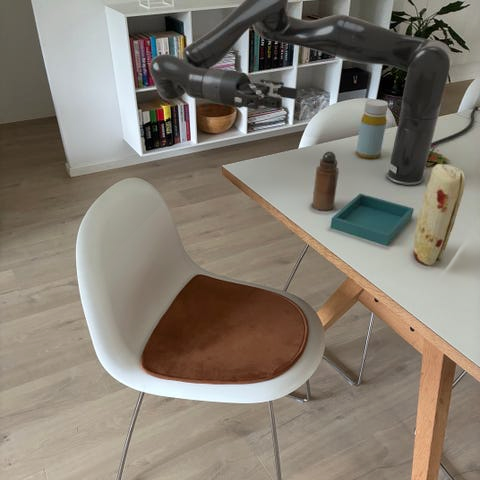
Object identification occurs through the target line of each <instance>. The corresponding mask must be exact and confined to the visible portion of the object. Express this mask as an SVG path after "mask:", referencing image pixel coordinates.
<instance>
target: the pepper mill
mask: <svg viewBox="0 0 480 480" xmlns="http://www.w3.org/2000/svg"><path fill="white" fill-rule="evenodd" d="M336 158H337V156H336V154H335V153H334V151H331V150H329V151H326V152H324V154H323V155H322V158H320V160H319V165H318V166H316V169H315V177H314V187H313V196H312V202H311V209H313V210H315V211H317V212H321V213H323V212H325V213H326V212H331V211H333V210H334V209H335V201H336V194H337V187H338V186H337V185H338V179H339V173H340V169H339V167H338V160H337V159H336Z"/></svg>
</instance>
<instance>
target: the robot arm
mask: <svg viewBox="0 0 480 480" xmlns="http://www.w3.org/2000/svg"><path fill="white" fill-rule="evenodd" d="M251 27H252V28H253V31H254V33H255V34H256V35H257V36H258V37H260V38H262V39H265V40H267V41H272V42H277V43H281V44H282V43H283V44H287V45H292V46H297V47H302V48H306V49H309V50H313V51H316V52H320V53H323V54H327V55H329V56H332V57H335V58H338V59H342V60H344V61H348V62H352V63H355V64H356V63H357V64H365V65H381V66H389V67H393V68H396V69H399V70H402V71H405V72H407V74H406V78H405V82H404V87H403V94H402V100H401V108H400V113H399V119H398V123H397V129H396V133H395V137H394V143H393V147H392V153H391V157H390V161H389V162H388V166H387V169H388V172H387V173H386V174H387V175H386V178H387V179H388V180H389V181H390V182H392V183H394V184H396V185H397V184H398V185H401V186H417V185H420V184H422V182H423V180H424V174H425V170H426V168H427V167H426V166H427V165H426V163H427V159H428V155H429V151H431V148H432V147H435V146H437V145H439V144H441V143H443V142H447V141H448V140H451V139H454V138H456V137H458V136H461V135H462V134H464V133H466V132H467V131H468V130H469V129H470V128H471V127H472V126H473V124H474V121H475V113H476V111H479V106H477V105H476V106H474V107H473V109H472V111H471V113H470V122H469V124H468V125H467V126H466V127H465V128H463V129H462V130H460V131H458V132H456V133H453V134H451V135H448V136H446V137H443V138H441V139H438V140H435V141H433V138H434V135H435V130H436V126H437V122H438V118H439V115H440V111H441V108H442V101H443V98H444V94H445V90H446V86H447V82H448V79H449V74H450V71H451V68H452V65H453V53H452V51H451V48H450V47H449V46H448V45H447V44H446V43H445V42H442V41H440V40H435V39H429V38H422V37H417V36H412V35H407V34H402V33H400V32H396V31H394V30H391V29H389V28H386V27H384V26H380V25H378V24H375V23H372V22H369V21H367V20H363V19H360V18H358V17H353V16H351V15H350V16H349V15H347V14H333V15H329V16H326V17H322V18H319V19H315V20H306V19H300V18H297V17H294V16H291V15H289V0H244V1H243V2H241V4H239V5H238V6H237V7H236V8H235V9H234V10H233V11H232V12H231V13H230V14H229V15H227V16H226V17H225V18H223V20H222V21H221V22H220V23H218V25H216V26H215V27H213V28H212V29H211V30H210V31H208V32H207V33H206V34H203V35H202V36H200V37H199V38H197V39H196V40H194V41H193V42H192V43H190V44H188V45H187V46H186V47H184V48H183V50H182V53H181V55H182V56H181V57H182V58H181V57H179V56H177V55H173V54H170V53H169V54H168V53H162V54H159V55H157V56H154V58H152V59H151V61H150V62H149V66H148V67H149V69H148V70H149V73H150V77H151V78H152V81H153V83H154V86H155V88H156V91H157V93H158V95H159V97H160V98H161V99H162V100H165V101H175V100H178V99H179V98H181V97H182V96H184V95H185V94H186V95H187V96H188V97H190V98H192V99H195V100H201V101H207V102H210V103H212V104H217V105H222V106H227V107H233V108H238V109H241V108H247V109H252V110H258V109H259V108H261V109H262V108H263V109H264V108H271V109H276V110H280V109H282V106H283V98H286V99H290V100H296V99H297V98H298V91H299V90H298V88H296V87H289V86H285V82H282V81H274V80H268V79H263V78H262V79H260V80H259V81H253V82H251V79H250V76H249V75H248V74H247V73H245V72H241V71H235V70H230V69H229V70H228V69H224V68H223V69H222V68H213V67H215V66H216V65H217V64H219V63H220V62H222V61H223V60H224V59H225V58H226V57H227V56H228V54H229V53H230V52H231V51H232V49H233V48H234V47H235V45H236V44H237V43H238V41H239V40H240V39H241V38H242V36H243V35H244V34H245V33H246V32H247V31H248V30H249V29H251ZM431 146H432V147H431Z"/></svg>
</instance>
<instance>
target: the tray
mask: <svg viewBox="0 0 480 480" xmlns="http://www.w3.org/2000/svg"><path fill="white" fill-rule="evenodd" d="M414 210H415V208H413V207H409V206H406V205H403V204H400V203H395V202H391V201H388V200H384V199H381V198H378V197H374V196H371V195H367V194H364V193H359V194H358V195H356V196H355V197H354V198H353V199H352V200H350V201H349V202H348V203H347V204H346V205H345V206H344V207H343V208H341V209H339V211H338V212H336V214H335V215H333V216H332V217H331V221H330V229H332V230H335V231H339V232H341V233H344V234H347V235H351V236H353V237H357V238H360V239H363V240H367V241H370V242H373V243H376V244H379V245H382V246H385V247H388V246H389V244H390V243H391V242H392V241H393V240H394V239H395V238H396V237H397V236H398V234H399V233H400V232H401V231H402V230H403V229H404V228H405V226H406V225H407V224H409V222H410V221H411V220H412V218H413V213H414Z"/></svg>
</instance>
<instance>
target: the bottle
mask: <svg viewBox="0 0 480 480" xmlns="http://www.w3.org/2000/svg"><path fill="white" fill-rule="evenodd" d="M388 108H389V102H388V101H386V100H383V99H374V98H373V99H372V98H371V99H367V100H366V101H365V104H364V111H363V115H362V117H361V120H360V126H359V132H358V138H357V144H356V151H355V152H356V154H357V156H358V157H359V158H361V159H365V160H374V159H377V158H379V156H380V155H381V152H382V146H383V143H384V136H385V131H386V127H387V121H388V120H387V112H388Z"/></svg>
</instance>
